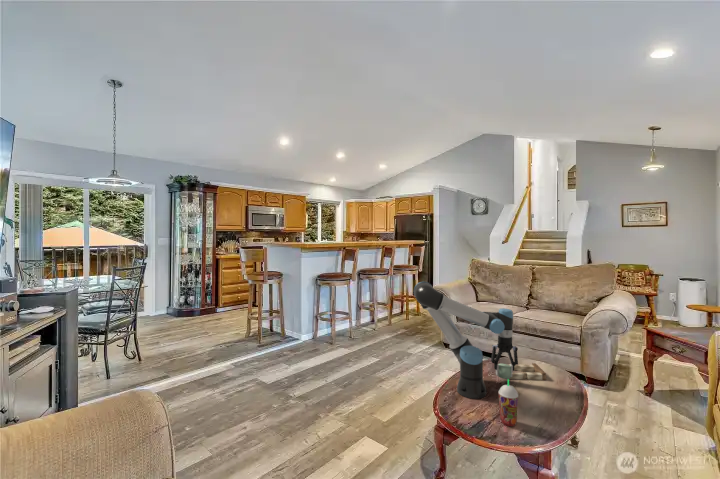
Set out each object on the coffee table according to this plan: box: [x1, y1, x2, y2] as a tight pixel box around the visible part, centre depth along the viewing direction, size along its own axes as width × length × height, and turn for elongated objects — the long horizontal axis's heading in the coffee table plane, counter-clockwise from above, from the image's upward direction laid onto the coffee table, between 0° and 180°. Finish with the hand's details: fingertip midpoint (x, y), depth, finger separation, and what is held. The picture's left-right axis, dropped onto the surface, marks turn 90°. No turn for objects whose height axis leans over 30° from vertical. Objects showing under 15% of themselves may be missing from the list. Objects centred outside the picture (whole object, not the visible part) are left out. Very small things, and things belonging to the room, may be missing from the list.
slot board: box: [506, 362, 547, 381], centre depth 205 cm, size 23×15×4 cm, turn 84°
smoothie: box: [497, 379, 519, 427], centre depth 153 cm, size 8×8×20 cm
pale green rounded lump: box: [497, 363, 511, 380], centre depth 194 cm, size 7×7×6 cm
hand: (503, 375), depth 194 cm, fingers closed on pale green rounded lump, 7 cm apart
